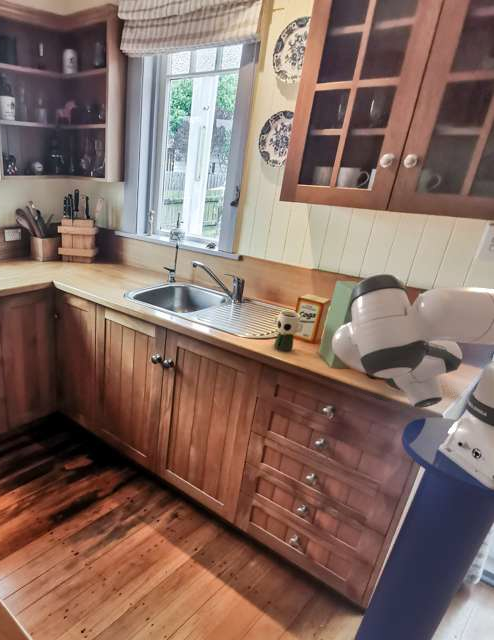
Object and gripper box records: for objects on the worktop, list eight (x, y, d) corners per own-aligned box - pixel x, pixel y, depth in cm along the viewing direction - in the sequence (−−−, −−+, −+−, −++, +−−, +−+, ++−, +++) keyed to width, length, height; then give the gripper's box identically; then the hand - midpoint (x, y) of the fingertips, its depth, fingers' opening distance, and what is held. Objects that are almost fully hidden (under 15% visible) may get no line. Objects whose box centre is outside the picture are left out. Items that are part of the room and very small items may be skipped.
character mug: (263, 346, 167) (270, 311, 162) (275, 341, 172) (282, 308, 166) (290, 356, 160) (298, 320, 154) (301, 351, 164) (310, 316, 158)
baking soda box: (320, 339, 176) (331, 298, 169) (314, 343, 171) (324, 302, 164) (296, 332, 181) (305, 292, 174) (289, 336, 177) (298, 296, 170)
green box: (349, 368, 153) (371, 291, 142) (331, 367, 153) (352, 290, 142) (335, 353, 164) (355, 281, 152) (318, 352, 164) (336, 280, 152)
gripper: (453, 353, 134) (437, 316, 142) (382, 349, 134) (370, 313, 142) (440, 365, 139) (425, 330, 147) (371, 362, 139) (360, 326, 147)
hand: (397, 321), depth 144 cm, fingers open, 8 cm apart
